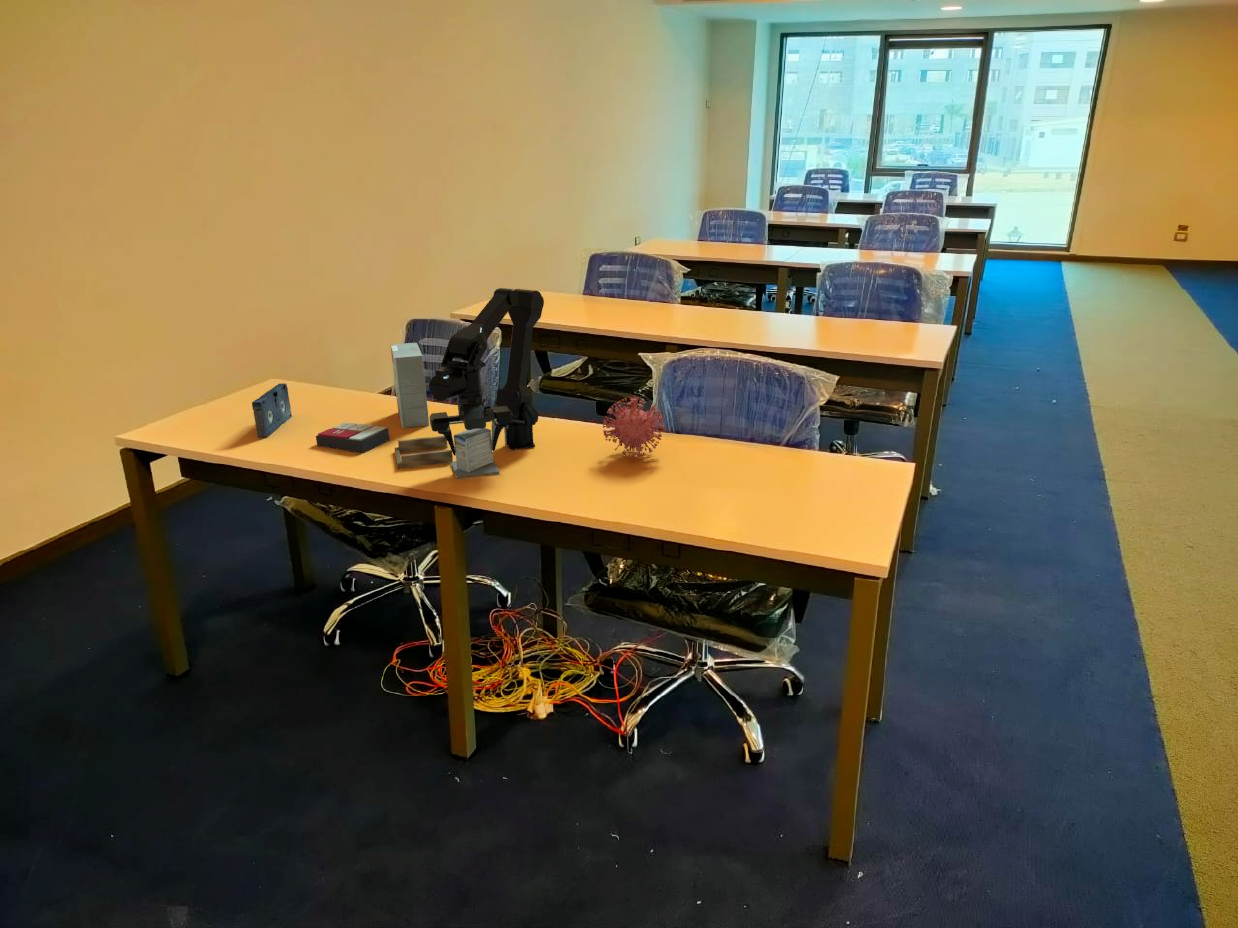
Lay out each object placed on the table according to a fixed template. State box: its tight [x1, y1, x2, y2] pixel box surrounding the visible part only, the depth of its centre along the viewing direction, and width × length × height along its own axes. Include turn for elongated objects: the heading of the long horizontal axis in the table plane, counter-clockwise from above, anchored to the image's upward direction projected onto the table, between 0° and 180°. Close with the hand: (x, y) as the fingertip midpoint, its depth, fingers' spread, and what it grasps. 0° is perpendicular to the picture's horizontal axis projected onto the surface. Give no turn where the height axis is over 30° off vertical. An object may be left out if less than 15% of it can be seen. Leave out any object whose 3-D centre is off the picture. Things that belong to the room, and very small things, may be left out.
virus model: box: [602, 396, 665, 459], centre depth 209 cm, size 15×15×15 cm
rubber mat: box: [450, 458, 500, 480], centre depth 205 cm, size 10×10×1 cm
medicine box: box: [453, 427, 494, 472], centre depth 203 cm, size 8×4×9 cm, turn 141°
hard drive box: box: [390, 342, 430, 429], centre depth 237 cm, size 16×8×20 cm, turn 17°
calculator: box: [315, 422, 391, 454], centre depth 222 cm, size 11×4×15 cm
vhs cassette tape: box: [251, 382, 293, 439], centre depth 234 cm, size 18×3×10 cm, turn 178°
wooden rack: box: [394, 435, 454, 469], centre depth 212 cm, size 13×12×3 cm
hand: (474, 452), depth 203 cm, fingers open, 9 cm apart
